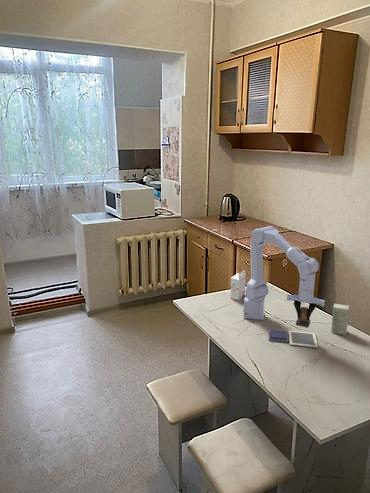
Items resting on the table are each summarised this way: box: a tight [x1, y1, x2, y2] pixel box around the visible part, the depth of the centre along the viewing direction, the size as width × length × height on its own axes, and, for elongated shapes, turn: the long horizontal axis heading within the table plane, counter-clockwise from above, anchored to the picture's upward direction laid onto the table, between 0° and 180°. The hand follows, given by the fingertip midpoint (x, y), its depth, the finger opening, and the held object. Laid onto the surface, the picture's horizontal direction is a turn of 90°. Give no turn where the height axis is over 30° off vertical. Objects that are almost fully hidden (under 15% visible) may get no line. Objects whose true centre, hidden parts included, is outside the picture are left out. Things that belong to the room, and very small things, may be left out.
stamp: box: [295, 306, 311, 329], centre depth 153 cm, size 5×5×7 cm
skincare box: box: [330, 303, 350, 336], centre depth 161 cm, size 6×4×12 cm
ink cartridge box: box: [230, 269, 246, 301], centre depth 196 cm, size 9×5×15 cm, turn 148°
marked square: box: [287, 330, 319, 349], centre depth 156 cm, size 11×11×1 cm
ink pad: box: [267, 329, 289, 344], centre depth 158 cm, size 8×7×2 cm
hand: (303, 318), depth 154 cm, fingers closed on stamp, 3 cm apart
